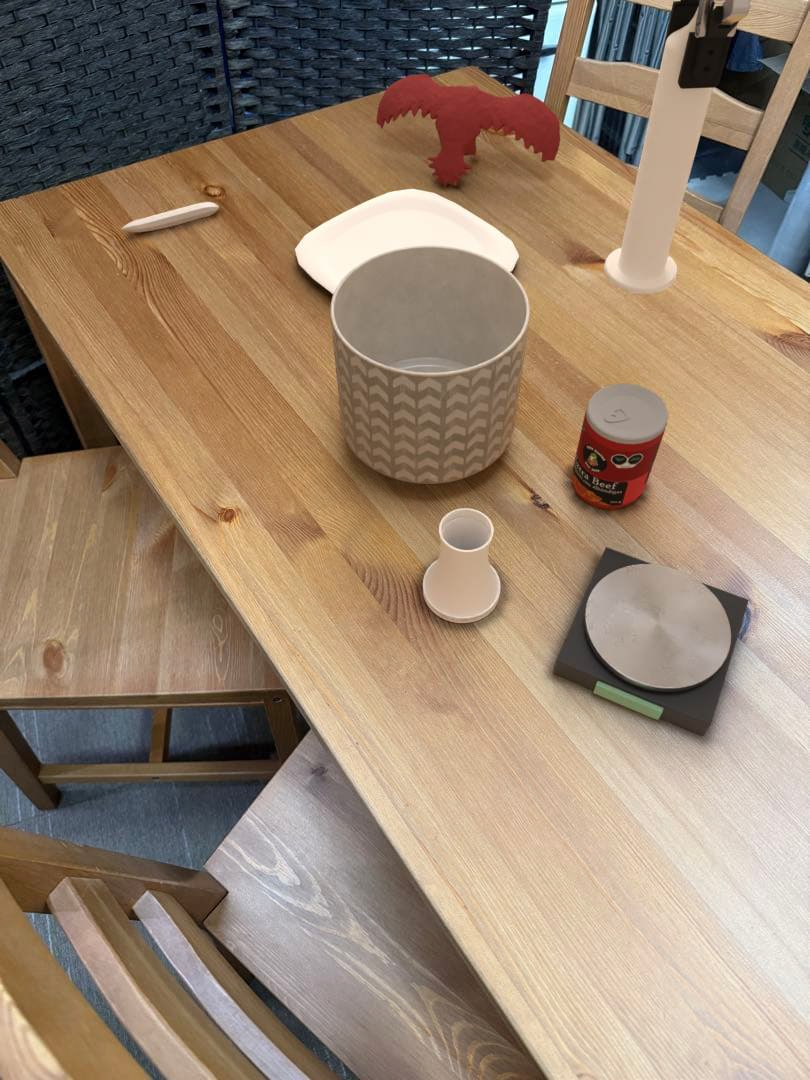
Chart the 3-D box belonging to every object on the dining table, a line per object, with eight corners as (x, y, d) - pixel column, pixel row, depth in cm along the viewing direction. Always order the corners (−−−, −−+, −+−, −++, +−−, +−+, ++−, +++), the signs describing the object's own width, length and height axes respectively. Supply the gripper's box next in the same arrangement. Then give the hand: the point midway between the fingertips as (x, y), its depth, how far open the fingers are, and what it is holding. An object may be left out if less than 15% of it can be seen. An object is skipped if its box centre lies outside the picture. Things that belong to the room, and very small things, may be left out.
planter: (328, 492, 91) (311, 364, 77) (358, 370, 102) (349, 237, 88) (506, 511, 90) (524, 384, 75) (517, 384, 101) (535, 252, 86)
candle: (684, 261, 86) (763, -15, 66) (664, 302, 82) (742, 23, 62) (616, 244, 88) (673, -30, 68) (594, 283, 84) (647, 6, 64)
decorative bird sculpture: (543, 217, 127) (573, 111, 124) (534, 203, 119) (566, 89, 115) (370, 178, 134) (394, 76, 131) (350, 162, 125) (374, 53, 122)
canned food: (555, 480, 92) (570, 407, 83) (605, 444, 95) (625, 370, 86) (609, 523, 88) (630, 452, 79) (659, 485, 91) (685, 412, 82)
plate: (274, 257, 115) (272, 246, 114) (413, 186, 125) (413, 175, 124) (397, 352, 104) (397, 341, 103) (540, 265, 114) (542, 254, 112)
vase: (515, 590, 84) (526, 529, 76) (462, 637, 81) (468, 579, 73) (459, 546, 87) (464, 483, 79) (406, 589, 84) (406, 529, 76)
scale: (741, 612, 82) (753, 592, 79) (701, 741, 74) (713, 724, 72) (601, 560, 86) (608, 539, 83) (550, 677, 78) (555, 659, 75)
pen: (121, 234, 119) (118, 223, 117) (217, 207, 122) (215, 197, 121) (124, 240, 118) (121, 229, 117) (221, 213, 121) (219, 202, 120)
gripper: (867, -186, 50) (765, 122, 64) (779, -261, 60) (709, 21, 74) (739, -182, 50) (666, 126, 64) (672, -257, 59) (623, 25, 74)
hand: (690, 67), depth 69 cm, fingers closed on candle, 4 cm apart
